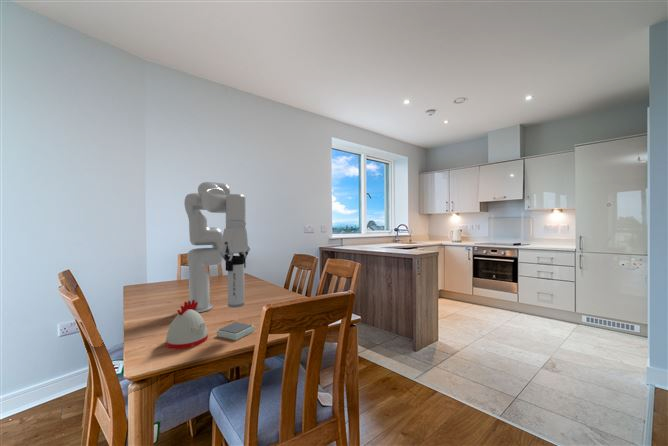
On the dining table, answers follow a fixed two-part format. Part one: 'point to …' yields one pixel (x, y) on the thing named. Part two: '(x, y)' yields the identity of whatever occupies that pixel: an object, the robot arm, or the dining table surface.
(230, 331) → the stand
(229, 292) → the travel mug
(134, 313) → the dining table surface
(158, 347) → the dining table surface
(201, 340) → the kitchen timer
